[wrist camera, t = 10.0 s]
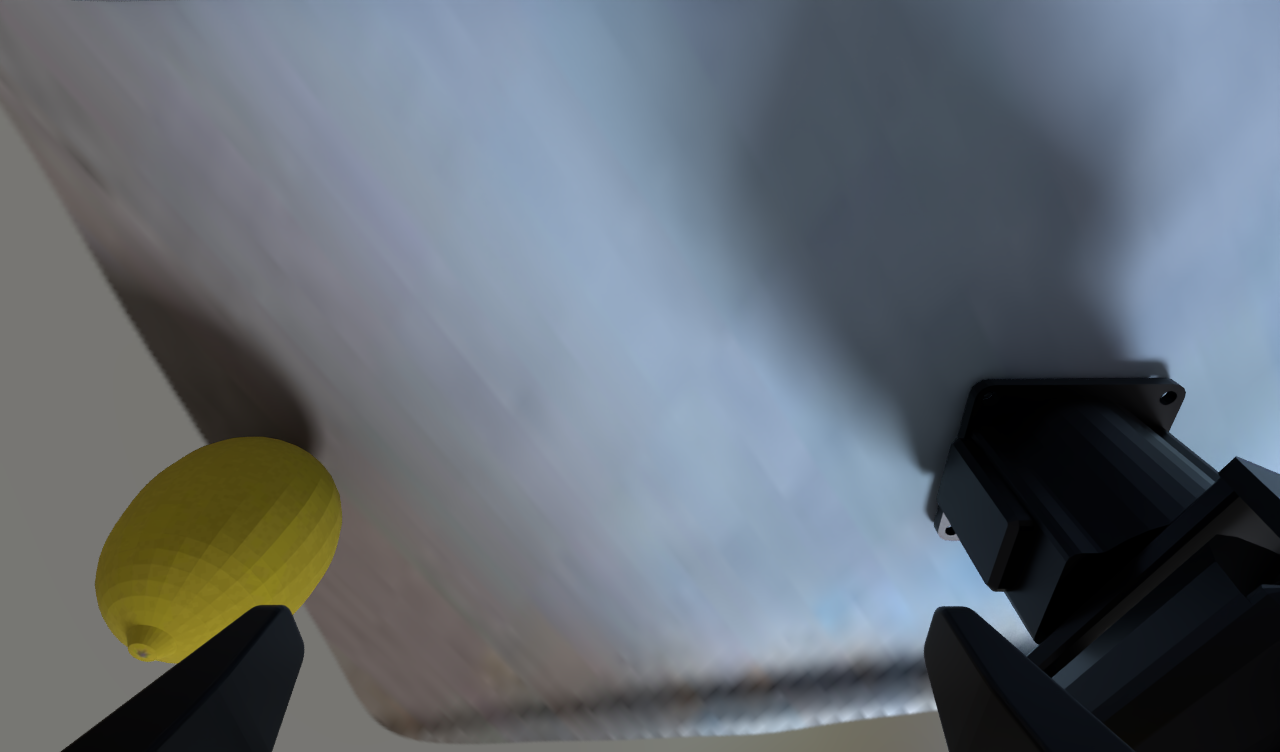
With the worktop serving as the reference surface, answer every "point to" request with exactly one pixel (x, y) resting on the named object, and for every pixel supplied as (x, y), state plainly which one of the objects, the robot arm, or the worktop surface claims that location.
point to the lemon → (217, 544)
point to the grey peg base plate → (111, 0)
